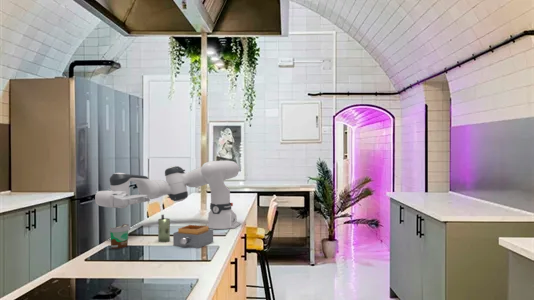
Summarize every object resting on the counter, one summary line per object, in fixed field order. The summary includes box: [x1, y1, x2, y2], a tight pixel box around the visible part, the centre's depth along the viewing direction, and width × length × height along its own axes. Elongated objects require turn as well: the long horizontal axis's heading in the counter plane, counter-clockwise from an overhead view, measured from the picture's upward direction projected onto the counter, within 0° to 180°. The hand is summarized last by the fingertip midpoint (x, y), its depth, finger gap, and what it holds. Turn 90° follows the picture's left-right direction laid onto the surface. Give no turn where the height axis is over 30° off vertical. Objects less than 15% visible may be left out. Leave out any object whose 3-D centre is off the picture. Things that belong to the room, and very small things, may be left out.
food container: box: [109, 223, 131, 250], centre depth 213 cm, size 12×6×10 cm, turn 168°
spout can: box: [157, 214, 171, 243], centre depth 226 cm, size 6×6×13 cm
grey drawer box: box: [172, 224, 214, 249], centre depth 218 cm, size 17×14×8 cm
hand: (143, 200), depth 230 cm, fingers open, 8 cm apart
